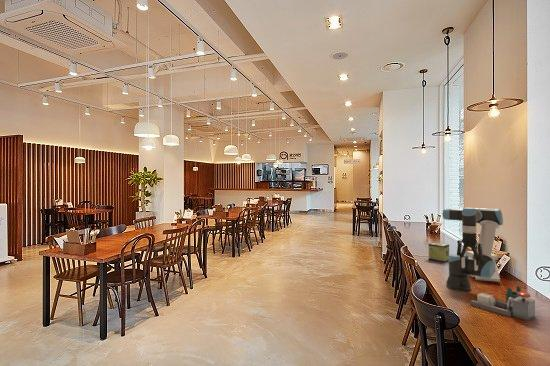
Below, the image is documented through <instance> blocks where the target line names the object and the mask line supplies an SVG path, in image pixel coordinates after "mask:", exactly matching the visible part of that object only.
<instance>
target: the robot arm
mask: <svg viewBox="0 0 550 366" xmlns="http://www.w3.org/2000/svg"><path fill="white" fill-rule="evenodd" d="M441 216H442V219H444V220H447V221H461V222H462V223H461V225H462V230H461V231H462V232H461V233H462V239H459V240H457V241H456V242H457V249H456V253H455V254H451V255H450V254H449V261H448V276H447V277H448V278H447V280H446V283H445V286H446V288H449V289H452V290H455V291H463V292H467V291H471V290H472V285H471V282H470V279H469V276H471V275H474V276H479V277H483V278H484V277H485V278H491V277H492V276H493V274H494V272H495V263H496V261H495V262H494V261H493V259H492V258H491V253H492V254H493V249H494V241H495V236H496V232H497V229H499V227H500V226H502V225H503V224H504V218H503V212H502V210H501V209H499V208H489V207H488V208H487V207H463V208H462V209H459V208H444V209H443V210H442V215H441ZM477 224H479V225H480V226H481V228H480V231H479V232H480V233H479V238H478V240H477ZM462 245H463V247H462ZM468 248H470V249H471V250H472V251H473V253H474V255H473V258H469V256H468V255H467V254H466V252H467V249H468Z"/></svg>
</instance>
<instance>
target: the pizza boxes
mask: <svg viewBox="0 0 550 366" xmlns="http://www.w3.org/2000/svg"><path fill="white" fill-rule="evenodd" d="M466 255H468V257H469V258H473V255H474V253H473V251H471V250H466ZM491 258H492V259H493V261H494V262H495V272H494V274H493V276H492V277H491V278H485V277H484V278H483V277H479V276H474V275H470V276H471V277H472V278H474V277H475V280H476V281H485V282H486V281H487V282H496V283H497V282H498V283H500V281H501V278H500V277H501V276H500V274H499V273H500V272H499V269H498V266H497V263H496V260H499V259H498V258H499V255H497V254H496V253H495V254H494V253H493V252H492V253H491Z"/></svg>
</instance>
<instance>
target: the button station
mask: <svg viewBox="0 0 550 366" xmlns="http://www.w3.org/2000/svg"><path fill="white" fill-rule="evenodd" d="M516 292H517V291H516ZM517 295H518V296H519V297H517V298H515V299H514V298H512V297H509V298H508V301H506V303H507V308H506V310H509V311H511V313H512V317H515V318H517V319H520V320H521V319H522V320H525V321H528V322H529V321H530V320H532V319H533V318H535V317H536V300H535V299H533V298H531V296H532V295H531V294H530V293H528V292H524V291H521V292H517Z"/></svg>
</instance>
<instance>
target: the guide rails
mask: <svg viewBox="0 0 550 366" xmlns="http://www.w3.org/2000/svg"><path fill="white" fill-rule="evenodd" d="M495 301H496V302H495V306H491V305H488V304H484V303H481V302H477V300H473V299H471V300H470V306H474V307H477V308H479V307H480V309H483V310H487V311H490V312H493V313H497V314H500V315H503V316H506V317H513V314H512V312H511V311H509V310H507V302H504V301H502V300H499V299H498V300H497V299H495ZM501 307H502V308H501Z"/></svg>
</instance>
